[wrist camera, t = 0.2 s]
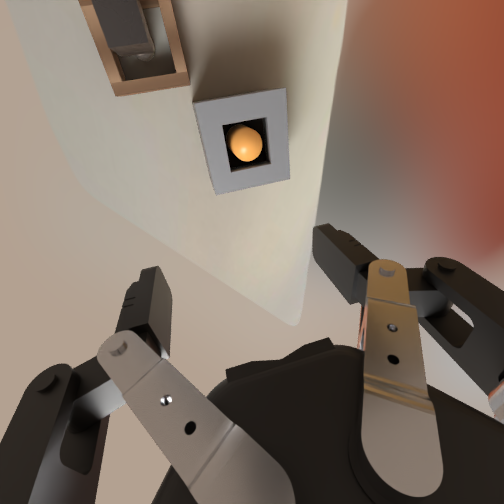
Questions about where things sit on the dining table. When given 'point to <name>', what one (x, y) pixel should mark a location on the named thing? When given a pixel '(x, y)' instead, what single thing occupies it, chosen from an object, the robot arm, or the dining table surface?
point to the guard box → (237, 110)
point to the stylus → (125, 28)
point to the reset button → (244, 142)
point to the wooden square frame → (113, 63)
